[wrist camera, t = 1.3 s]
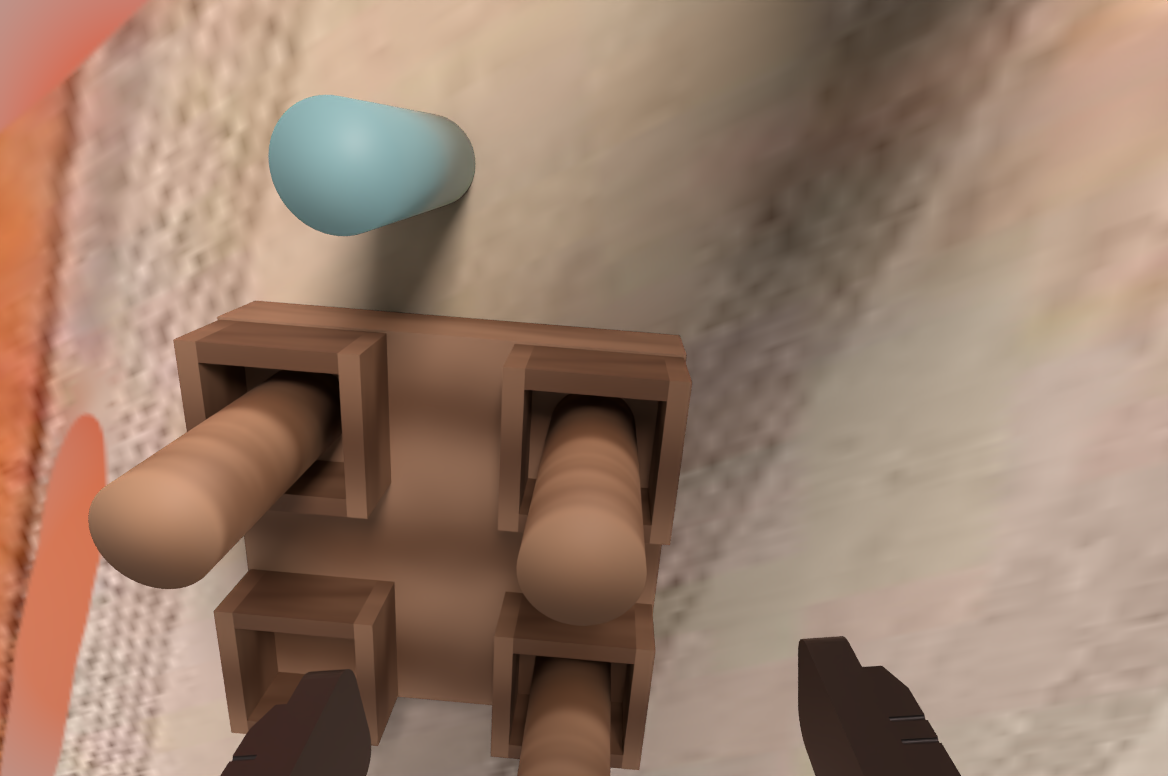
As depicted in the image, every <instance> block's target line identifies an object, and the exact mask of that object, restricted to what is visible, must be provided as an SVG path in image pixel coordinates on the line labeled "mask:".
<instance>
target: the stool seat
mask: <svg viewBox="0 0 1168 776" xmlns="http://www.w3.org/2000/svg"><path fill="white" fill-rule="evenodd" d="M217 319H218V321H215V322H213V323H211V324H209V325H206V326H204V327H202V328H199V329H197V330H195V331H192V332H190V333H188V334H185V335H183V336H181V337H179V338H176V339H174V340H173V341H174V348H175V354H176V361H177V368H178V375H179V381H180V388H181V395H182V402H183V408H184V415H185V422H186V429H187V433H185V434H184V435H182V436H181V437H179V438H178V439H176V440H175V441H173V442H172V443H170V444H169V445H167V446H166V447H164V448H163V449H161V450H159V451H158V452H156V453H155V454H153V455H152V456H150V457H149V458H147V459H146V460H144V461H143V462H141V463H140V464H138V465H137V466H135V467H134V468H132V469H131V470H129V471H128V472H126V473H125V474H123V475H122V476H120V477H119V478H117V479H116V480H114V481H113V482H111V483H110V484H108V485H107V486H105V487H104V488H103V489H102V490H100V492H99V493H98V494H97V495H96V496H95V498H94V500H93V501H92V504H91V506H90V510H89V520H88V521H89V529H90V533H91V536H92V539H93V541H94V543H95V545H96V547H97V549H98V550H99V552H100V553H101V555H102V556H103V557H104V558H105V559H106V561H107V562H108V563H109V564H110V565H111V566H113V567H114V568H115V569H116V570H117V571H119V572H120V573H121V574H123V575H124V576H126V577H128V578H130V579H131V580H134V581H136V582H138V583H141V584H143V585H146V586H150V587H154V588H161V589H177V588H182V587H186V586H189V585H192V584H194V583H196V582H198V581H199V580H201V579H202V578H203V577H204V576H205V575H206V574H207V573H208V572H209V571H210V570H211V569H212V568H213V567H214V566H215V565H216V564H217V563H218V562H219V561H220V560H221V559H222V558H223V557H224V556H225V555H226V554H227V553H228V552H229V550H230V549H231V548H232V547H233V546H234V545H235V544H236V543H237V542H238V541H239V540H240V539H241V538H242V537H243V536H244V539H245V547H246V555H247V563H248V572H247V573H246V575H245V576H244V577H243V578H242V579H241V580H240V581H239V583H238V584H237V585H236V586H235V587H234V588H233V590H232V591H231V592H230V593H229V594H228V595H227V596H226V598H225V599H224V600H223V601H222V602H221V603H220V605H219V606H218V607H217V608H216V609H215V610H214V617H215V624H216V631H217V638H218V644H219V651H220V658H221V665H222V671H223V678H224V685H225V692H226V698H227V705H228V712H229V719H230V725H231V732H232V733H243V734H247V732H248V731H249V729H250V728H251V727H252V726H253V725H254V724H255V723H257V722H258V721H259V720H260V719H261V718H262V717H263V716H264V715H265V714H266V713H267V712H268V711H269V710H270V709H272V708H273V707H274V706H275V705H279V704H287V703H288V701H289V699H290V698H291V696H292V694H293V692H294V691H295V689H296V687H297V686H298V684H299V682H300V680H301V679H302V677H303V676H304V675H305V674H306V673H308V672H312V671H326V670H341V669H350V670H352V671H353V672H354V674H355V677H356V680H357V684H358V688H359V692H360V696H361V700H362V704H363V708H364V711H365V715H366V719H367V723H368V727H369V731H370V736H371V745H373V746H378V745H379V742H380V740H381V737H382V735H383V732H384V730H385V727H386V725H387V722H388V720H389V717H390V714H391V712H392V709H393V707H394V704H395V702H396V699H397V697H409V698H420V699H431V700H442V701H453V702H464V703H475V704H486V705H492V732H491V756H492V757H503V758H514V759H520V761H519V768H518V774H517V776H610V767H611V768H622V769H633V770H639V767H640V760H641V753H642V745H643V738H644V731H645V723H646V716H647V709H648V702H649V694H650V687H651V680H652V672H653V665H654V658H655V639H654V627H653V607H654V599H655V592H656V584H657V577H658V569H659V561H660V554H661V546H662V544H663V545H670V541H671V533H672V526H673V519H674V511H675V504H676V497H677V489H678V482H679V475H680V468H681V460H682V453H683V446H684V438H685V431H686V424H687V416H688V409H689V402H690V394H691V387H692V381H691V378H690V375H689V372H688V369H687V366H686V356H687V355H686V352H685V349H684V346H683V343H682V341H681V338H680V335H669V334H657V333H644V332H632V331H620V330H607V329H595V328H583V327H571V326H558V325H546V324H534V323H521V322H509V321H497V320H485V319H472V318H460V317H448V316H435V315H423V314H411V313H399V312H386V311H374V310H362V309H349V308H337V307H325V306H313V305H300V304H288V303H276V302H263V301H254V302H251V303H249V304H247V305H244V306H242V307H240V308H237V309H235V310H232V311H230V312H228V313H225V314H223V315H221V316H218V317H217Z"/></svg>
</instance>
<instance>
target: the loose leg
mask: <svg viewBox="0 0 1168 776" xmlns="http://www.w3.org/2000/svg"><path fill="white" fill-rule="evenodd" d="M269 167H270V173H271V177H272V180H273V183H274V186H275V188H276V190H277V192H278V194H279V196H280V198H281V199H282V201H283V202H284V204H285V205H286V207H287V208H288V209H289V210H290V211H291V212H292V213H293V214H294V215H295V216H296V217H297V218H298V219H299V220H301V221H302V222H303V223H305V224H306V225H308V226H310V227H311V228H313V229H315V230H318V231H320V232H323V233H326V234H330V235H336V236H351V235H357V234H361V233H364V232H367V231H370V230H373V229H376V228H379V227H382V226H385V225H388V224H391V223H394V222H397V221H400V220H403V219H406V218H409V217H412V216H415V215H418V214H421V213H424V212H427V211H430V210H433V209H436V208H439V207H442V206H445V205H448V204H450V203H453V202H455V201H456V200H458V199H459V198H460V197H461V196H463V195H464V193H465V192H466V191H467V190H468V188H469V187H470V185H471V183H472V180H473V177H474V173H475V155H474V151H473V147H472V145H471V142H470V140H469V139H468V137H467V135H466V134H465V133H464V131H463V130H462V129H461V128H460V127H459V126H458V125H457V124H455V123H454V122H453V121H451V120H449V119H447V118H445V117H443V116H439V115H435V114H430V113H425V112H419V111H414V110H409V109H404V108H399V107H393V106H388V105H383V104H378V103H372V102H367V101H362V100H357V99H351V98H346V97H341V96H334V95H318V96H312V97H309V98H306V99H304V100H301V101H299V102H297V103H296V104H294V105H293V106H292V107H290V108H289V109H288V110H287V111H286V112H285V113H284V114H283V115H282V117H281V118H280V119H279V121H278V123H277V124H276V126H275V128H274V131H273V133H272V136H271V140H270V145H269Z"/></svg>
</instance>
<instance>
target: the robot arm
mask: <svg viewBox="0 0 1168 776" xmlns="http://www.w3.org/2000/svg"><path fill="white" fill-rule="evenodd" d="M798 711H799V721H800V727H801V732H802V737H803V741H804V744H805V747H806V750H807V753H808V756H809V759H810V761H811V764H812V767H813V770H814V773H815V775H816V776H961V775H960V773H959V772H958V770H957V768H956V767H955V765H954V763H953V762H952V760H951V758H950V757H949V755H948V753H947V752H946V750H945V748H944V747H943V745H942V743H939V741H938V737H937V735H936V733H935V732H934V730H933V728H932V727H931V725H930V723H929V722H928V720H925V716H924V713H923V712H922V710H921V708H920V707H919V705H918V703H917V702H916V700H915V698H914V697H913V695H912V693H911V692H910V690H909V688H908V687H907V686H905V685H904V684H903V683H902V682H901V681H900V680H898V679H897V678H896V677H895V676H894V675H892V674H891V673H890V672H889V671H888V670H886V669H885V668H884V667H883V666H872V667H862V666H861V664H860V663H859V661H858V659H857V657H856V655H855V653H854V651H853V649H852V648H851V646H850V644H849V642H848V640H847V639H846V638H845V637H843V636H839V637H824V638H810V639H801V640H800V641H799V646H798ZM370 757H371V736H370V731H369V727H368V723H367V719H366V715H365V711H364V708H363V704H362V700H361V696H360V692H359V688H358V684H357V680H356V677H355V674H354V672H353V671H352V670H350V669H341V670H326V671H312V672H308V673H306V674H305V675H304V676H303V677H302V679H301V680H300V682H299V684H298V686H297V687H296V689H295V691H294V692H293V694H292V696H291V698H290V699H289V701H288V703H287V704H279V705H275V706H274V707H273V708H272V709H270V710H269V711H268V712H267V713H266V714H265V715H264V716H263V717H262V718H261V719H260V720H259V721H258V722H257V723H255V724H254V725H253V726H252V727H251V728H250V729H249V731H248V732H247V734H246V736H245V737H244V739H243V740H242V742H241V744H240V745H239V747H238V748H237V750H236V752H235V753H234V755H233V760H232V762H229V763H228V764H227V766H226V768H225V769H224V771H223V772H222V774H221V776H366V774H367V771H368V768H369V763H370Z"/></svg>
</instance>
